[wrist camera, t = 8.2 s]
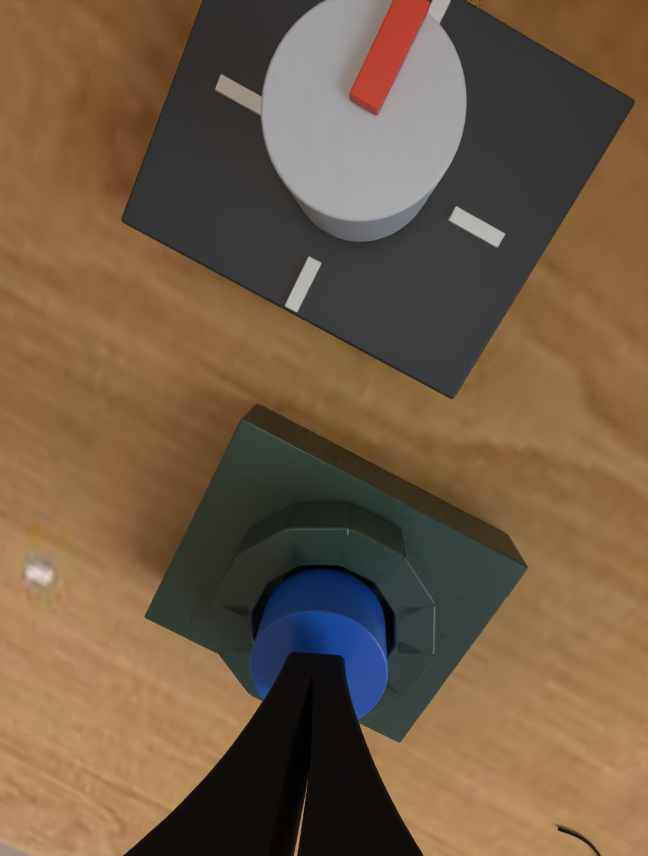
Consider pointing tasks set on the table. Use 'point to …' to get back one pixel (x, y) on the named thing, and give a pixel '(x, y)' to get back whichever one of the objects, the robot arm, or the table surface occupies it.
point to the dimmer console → (419, 239)
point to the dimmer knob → (363, 113)
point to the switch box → (334, 559)
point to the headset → (579, 838)
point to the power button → (324, 632)
